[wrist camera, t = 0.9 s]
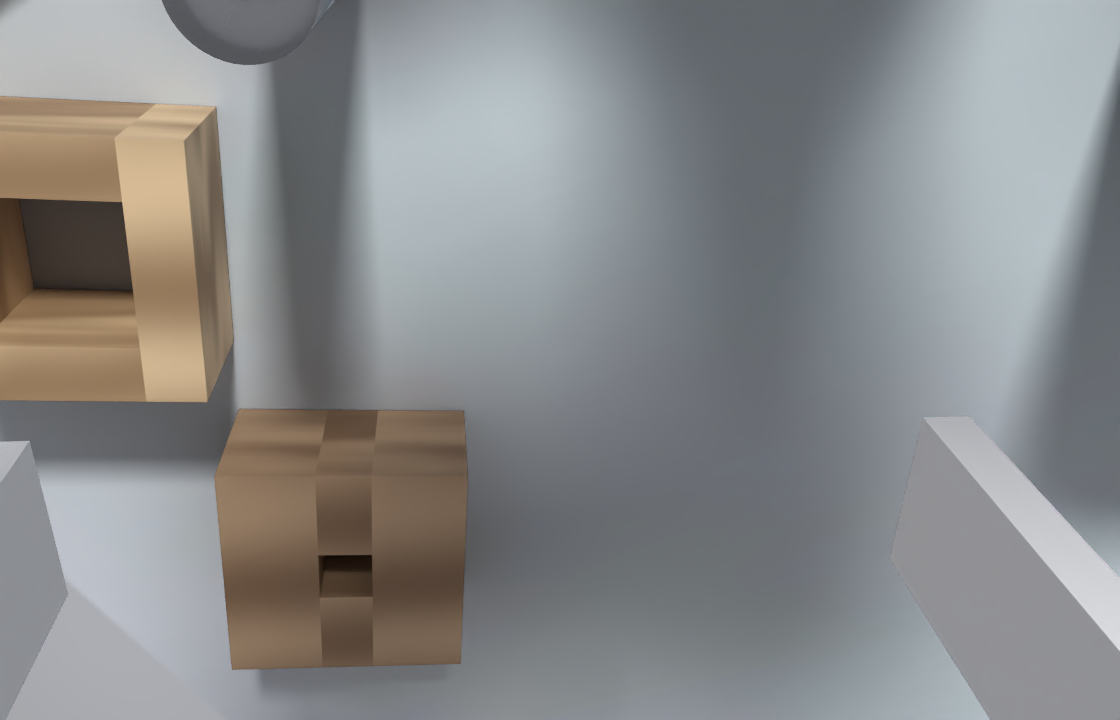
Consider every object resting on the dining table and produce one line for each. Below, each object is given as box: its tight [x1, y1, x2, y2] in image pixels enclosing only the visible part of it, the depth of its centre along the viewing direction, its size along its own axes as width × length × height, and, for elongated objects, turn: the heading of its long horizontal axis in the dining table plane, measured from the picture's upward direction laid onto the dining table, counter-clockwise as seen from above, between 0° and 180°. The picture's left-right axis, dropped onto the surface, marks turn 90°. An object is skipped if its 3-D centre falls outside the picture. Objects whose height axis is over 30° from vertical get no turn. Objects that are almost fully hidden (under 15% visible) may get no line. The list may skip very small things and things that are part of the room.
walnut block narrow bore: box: [214, 409, 468, 670], centre depth 40 cm, size 9×9×5 cm
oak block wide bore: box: [0, 96, 234, 402], centre depth 33 cm, size 9×9×5 cm
